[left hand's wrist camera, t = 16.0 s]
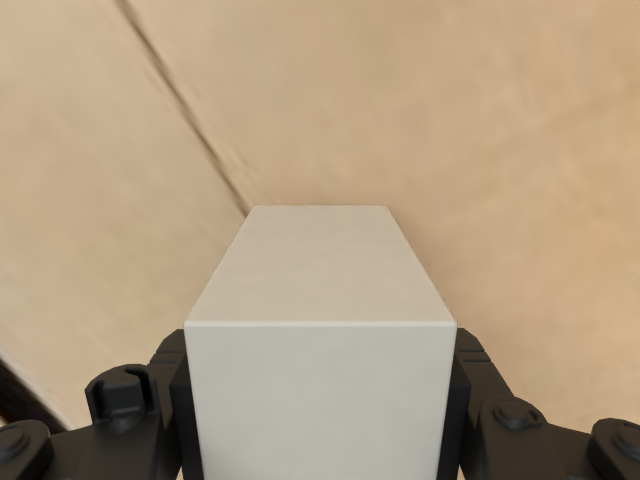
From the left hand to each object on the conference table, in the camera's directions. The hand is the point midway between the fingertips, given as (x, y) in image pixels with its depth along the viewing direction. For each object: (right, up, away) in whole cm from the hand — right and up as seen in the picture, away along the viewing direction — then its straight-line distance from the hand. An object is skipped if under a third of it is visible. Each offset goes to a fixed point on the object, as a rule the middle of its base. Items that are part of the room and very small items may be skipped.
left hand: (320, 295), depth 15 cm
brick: (0, 0, +1) cm, 1 cm away
